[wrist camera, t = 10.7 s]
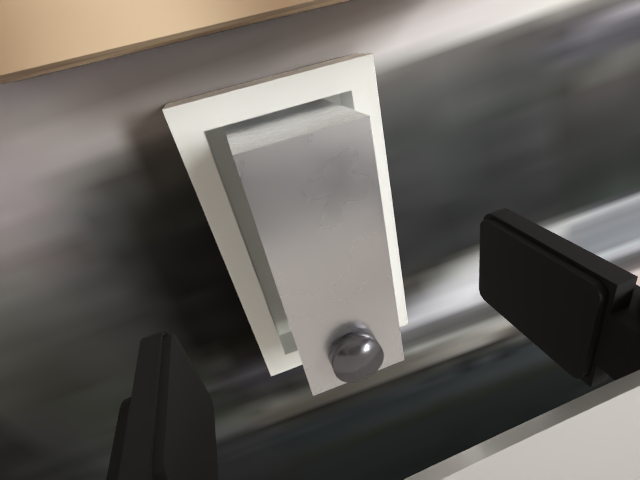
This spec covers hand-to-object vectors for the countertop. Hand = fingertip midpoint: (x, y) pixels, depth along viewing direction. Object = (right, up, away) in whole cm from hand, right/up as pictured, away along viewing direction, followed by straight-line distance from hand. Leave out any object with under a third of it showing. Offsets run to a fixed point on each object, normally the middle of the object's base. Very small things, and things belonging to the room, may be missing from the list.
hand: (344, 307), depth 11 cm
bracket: (-1, +3, +7) cm, 7 cm away
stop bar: (-1, +3, +6) cm, 7 cm away
